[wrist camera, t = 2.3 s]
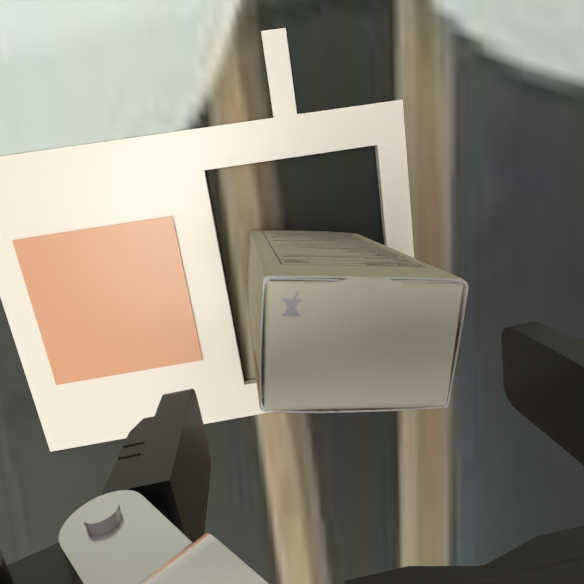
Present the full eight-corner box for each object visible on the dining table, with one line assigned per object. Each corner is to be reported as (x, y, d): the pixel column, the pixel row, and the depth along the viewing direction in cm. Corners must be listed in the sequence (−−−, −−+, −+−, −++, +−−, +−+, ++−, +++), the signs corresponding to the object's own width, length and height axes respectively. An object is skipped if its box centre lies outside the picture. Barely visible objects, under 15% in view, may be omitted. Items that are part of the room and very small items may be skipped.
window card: (392, 15, 22) (397, 10, 21) (420, 381, 27) (425, 386, 27) (-65, 74, 21) (-76, 71, 20) (54, 446, 26) (48, 453, 25)
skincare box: (247, 305, 25) (246, 417, 13) (249, 227, 24) (250, 273, 12) (359, 307, 26) (454, 416, 14) (366, 232, 25) (474, 279, 13)
